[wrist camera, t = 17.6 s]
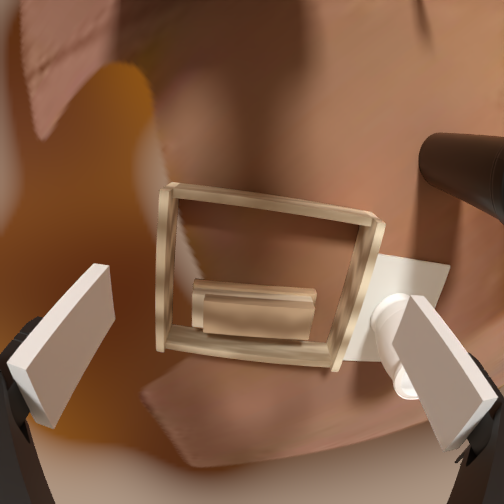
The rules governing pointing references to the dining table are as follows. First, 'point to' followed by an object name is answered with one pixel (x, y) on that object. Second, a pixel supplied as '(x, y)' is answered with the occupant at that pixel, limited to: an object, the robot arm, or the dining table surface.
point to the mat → (388, 283)
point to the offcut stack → (253, 309)
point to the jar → (385, 329)
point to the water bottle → (466, 168)
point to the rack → (259, 346)
